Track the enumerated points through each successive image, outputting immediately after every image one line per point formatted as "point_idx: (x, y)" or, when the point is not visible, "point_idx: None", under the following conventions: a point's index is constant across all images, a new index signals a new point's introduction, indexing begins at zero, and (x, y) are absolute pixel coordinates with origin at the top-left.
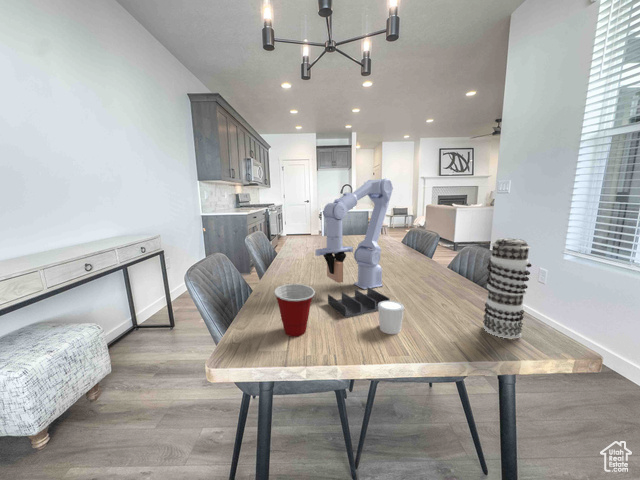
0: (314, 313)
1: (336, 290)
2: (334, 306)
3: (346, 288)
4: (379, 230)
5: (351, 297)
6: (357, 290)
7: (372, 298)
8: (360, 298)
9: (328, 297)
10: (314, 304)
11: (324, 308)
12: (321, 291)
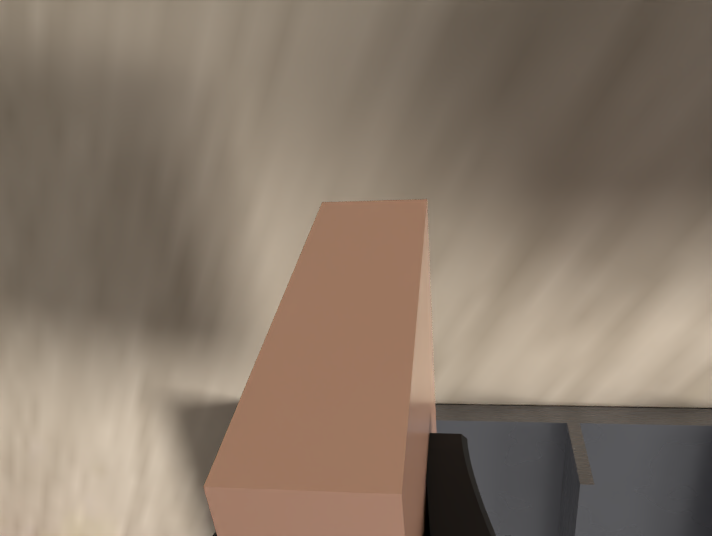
0: (106, 486)
1: (515, 98)
2: None
3: (706, 78)
4: None
5: (519, 426)
6: (590, 512)
7: (696, 519)
8: (562, 515)
9: None
10: (130, 360)
11: (200, 453)
12: (295, 48)
